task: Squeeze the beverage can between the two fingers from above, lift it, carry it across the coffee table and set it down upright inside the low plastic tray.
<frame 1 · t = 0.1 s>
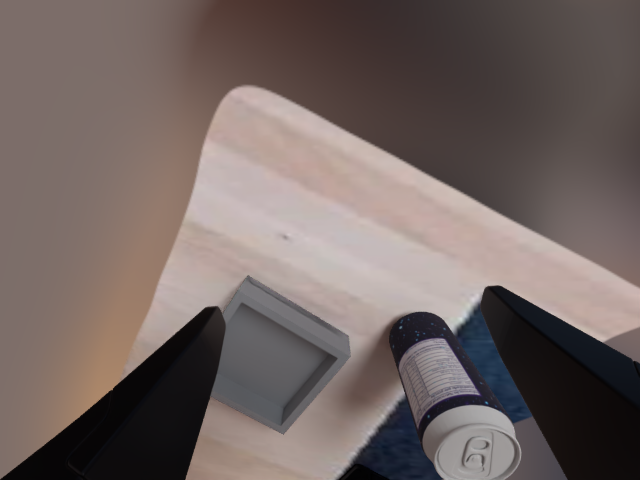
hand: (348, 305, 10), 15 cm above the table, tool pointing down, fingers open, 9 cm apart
beverage can: (415, 330, 28), on the table
tray: (269, 347, 29), on the table
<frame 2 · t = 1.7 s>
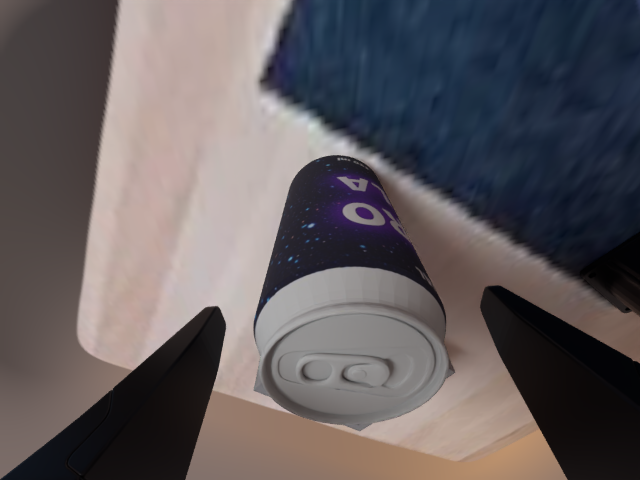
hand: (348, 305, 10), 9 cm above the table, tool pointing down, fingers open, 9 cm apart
beverage can: (334, 195, 18), on the table
tray: (348, 350, 25), on the table
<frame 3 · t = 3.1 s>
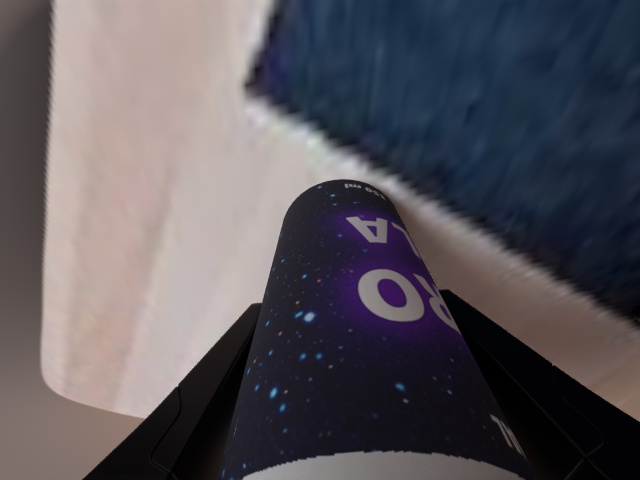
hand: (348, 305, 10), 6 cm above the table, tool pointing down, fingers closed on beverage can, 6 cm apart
beverage can: (339, 225, 14), on the table, touching gripper
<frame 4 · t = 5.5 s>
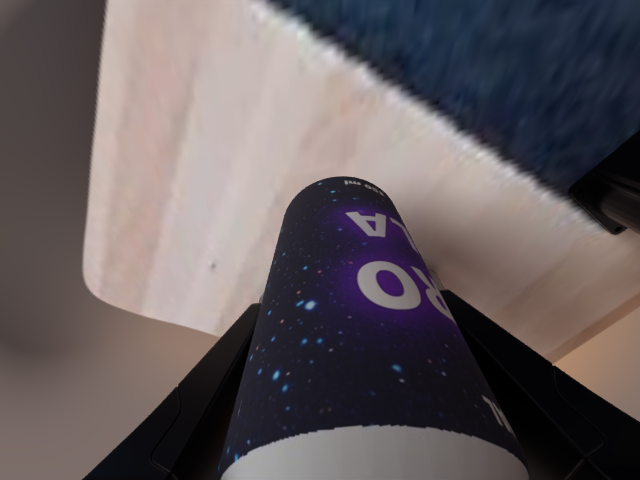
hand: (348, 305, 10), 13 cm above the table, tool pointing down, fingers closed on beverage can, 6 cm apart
beverage can: (339, 221, 15), point 7 cm above the table, touching gripper
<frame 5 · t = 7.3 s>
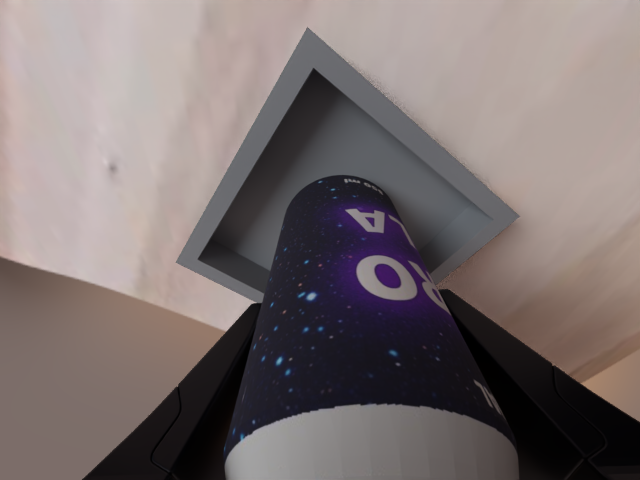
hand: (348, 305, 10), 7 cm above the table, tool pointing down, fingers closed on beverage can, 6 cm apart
beverage can: (339, 219, 15), point 1 cm above the table, touching gripper
tray: (335, 213, 16), on the table
when the fingers open (7 cm above the table, at t = 8.2 s): beverage can stays where it is, resting on tray.
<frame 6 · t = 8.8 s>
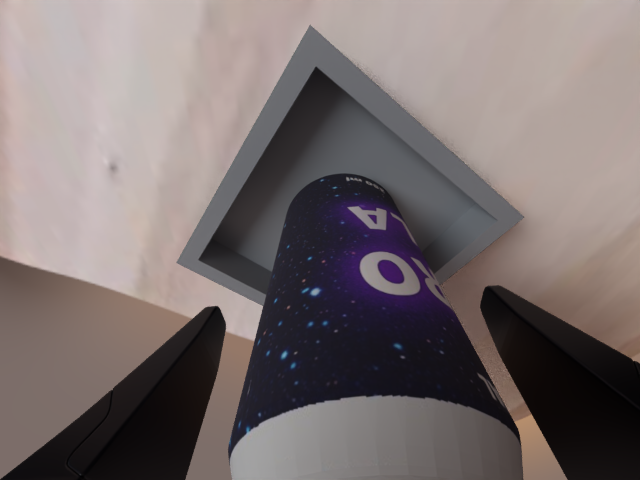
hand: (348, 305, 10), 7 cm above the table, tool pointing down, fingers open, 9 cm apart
beverage can: (340, 218, 15), point 1 cm above the table, touching tray
tray: (337, 213, 16), on the table
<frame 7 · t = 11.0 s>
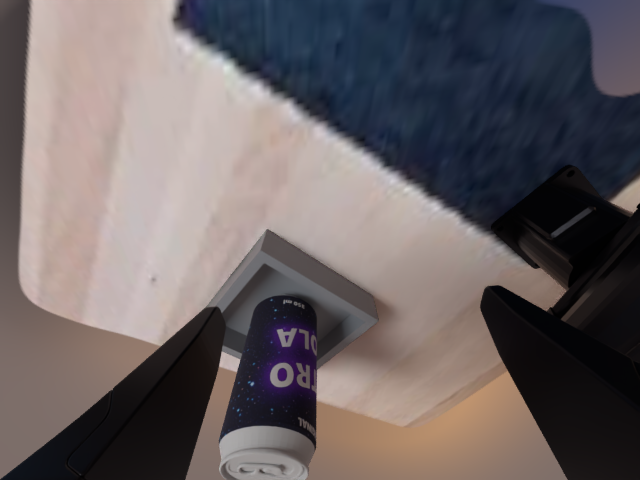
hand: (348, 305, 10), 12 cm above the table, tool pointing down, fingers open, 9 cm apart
beverage can: (286, 309, 26), point 1 cm above the table, touching tray
tray: (286, 304, 26), on the table
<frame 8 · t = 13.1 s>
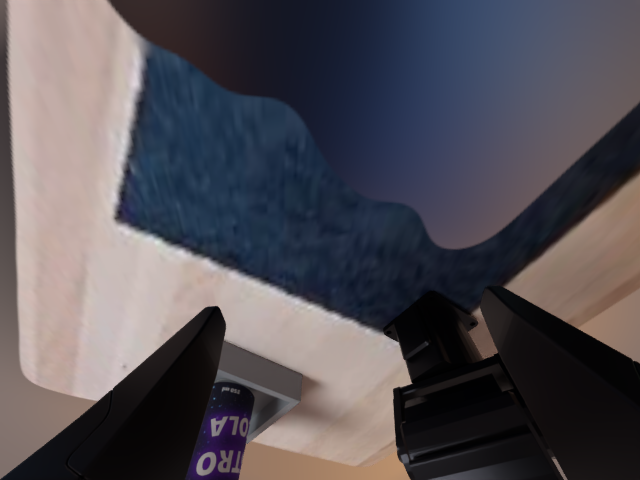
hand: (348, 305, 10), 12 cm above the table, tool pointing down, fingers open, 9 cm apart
beverage can: (231, 387, 32), point 1 cm above the table, touching tray
tray: (232, 381, 32), on the table
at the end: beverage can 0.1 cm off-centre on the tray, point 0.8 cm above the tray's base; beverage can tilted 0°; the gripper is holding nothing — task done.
